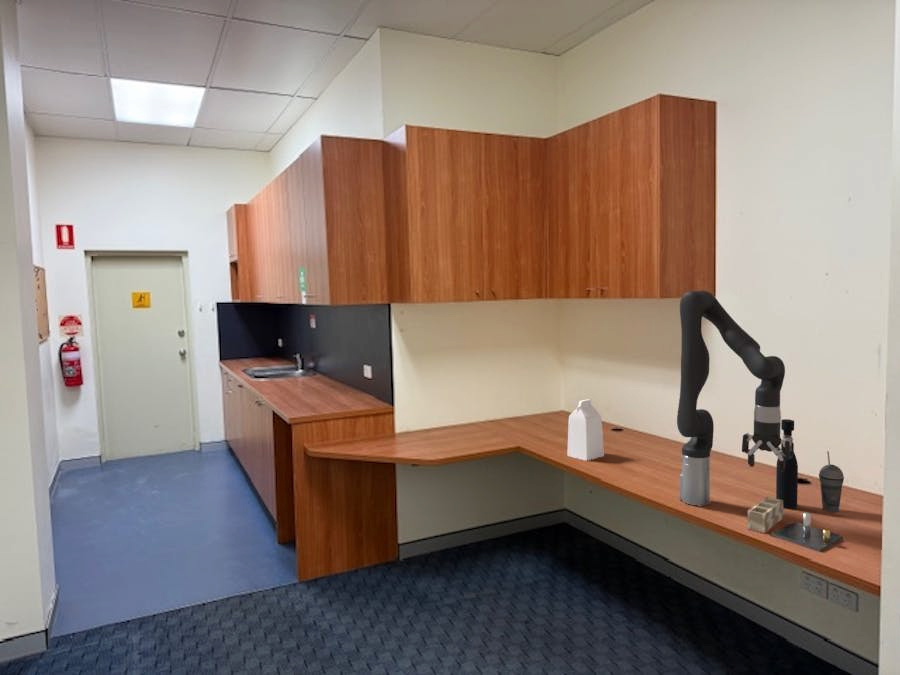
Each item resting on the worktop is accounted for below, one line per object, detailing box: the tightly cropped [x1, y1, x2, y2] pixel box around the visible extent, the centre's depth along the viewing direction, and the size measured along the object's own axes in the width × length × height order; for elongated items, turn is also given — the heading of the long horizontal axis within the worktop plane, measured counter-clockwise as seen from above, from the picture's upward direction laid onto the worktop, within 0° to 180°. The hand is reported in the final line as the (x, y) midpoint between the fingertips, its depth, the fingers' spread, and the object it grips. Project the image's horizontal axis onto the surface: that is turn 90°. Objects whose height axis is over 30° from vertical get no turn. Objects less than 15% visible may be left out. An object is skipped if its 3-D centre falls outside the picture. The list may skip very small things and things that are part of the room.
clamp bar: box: [747, 496, 784, 534], centre depth 191 cm, size 17×5×6 cm, turn 134°
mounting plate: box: [770, 511, 844, 553], centre depth 180 cm, size 14×14×8 cm
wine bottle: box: [775, 419, 799, 510], centre depth 205 cm, size 6×6×30 cm
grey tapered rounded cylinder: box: [818, 450, 845, 513], centre depth 201 cm, size 7×7×20 cm
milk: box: [566, 398, 605, 462], centre depth 274 cm, size 12×12×26 cm
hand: (766, 469), depth 190 cm, fingers open, 8 cm apart
